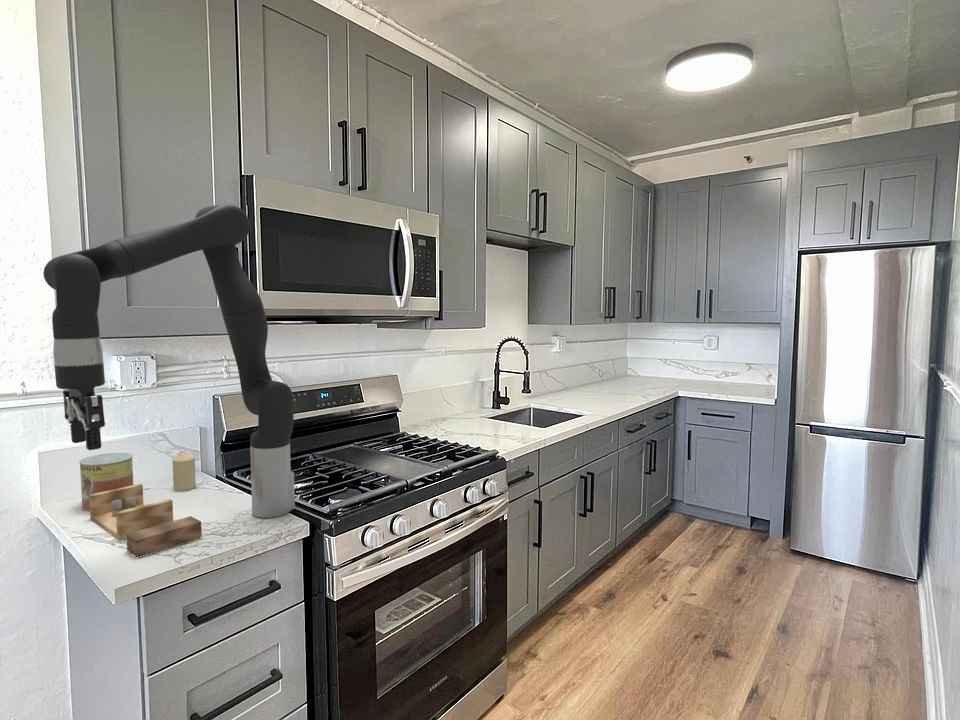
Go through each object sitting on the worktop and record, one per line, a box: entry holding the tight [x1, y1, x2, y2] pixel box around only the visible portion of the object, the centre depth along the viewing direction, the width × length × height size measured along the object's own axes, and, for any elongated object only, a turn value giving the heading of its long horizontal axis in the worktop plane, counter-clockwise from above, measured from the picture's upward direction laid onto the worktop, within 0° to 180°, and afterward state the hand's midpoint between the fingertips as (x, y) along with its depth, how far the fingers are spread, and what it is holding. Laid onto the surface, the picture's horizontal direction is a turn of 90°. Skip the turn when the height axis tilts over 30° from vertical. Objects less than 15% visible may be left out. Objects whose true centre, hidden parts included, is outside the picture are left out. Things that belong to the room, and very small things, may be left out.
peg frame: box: [89, 483, 174, 541], centre depth 129 cm, size 11×19×6 cm, turn 52°
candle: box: [172, 452, 197, 492], centre depth 153 cm, size 6×6×10 cm
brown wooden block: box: [126, 515, 203, 558], centre depth 117 cm, size 13×5×4 cm, turn 142°
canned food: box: [78, 452, 134, 513], centre depth 140 cm, size 11×11×12 cm
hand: (86, 445), depth 105 cm, fingers open, 8 cm apart
